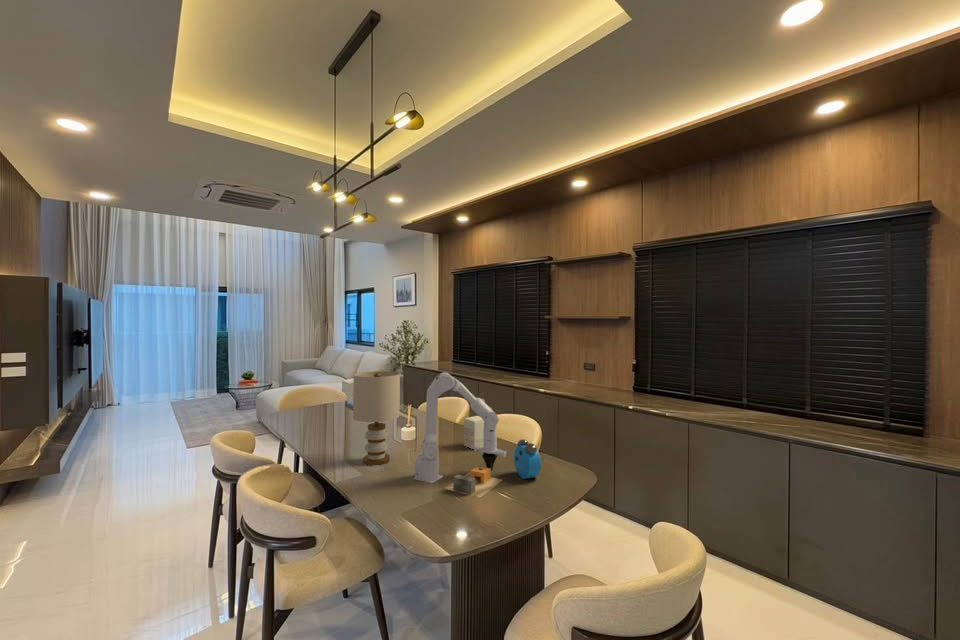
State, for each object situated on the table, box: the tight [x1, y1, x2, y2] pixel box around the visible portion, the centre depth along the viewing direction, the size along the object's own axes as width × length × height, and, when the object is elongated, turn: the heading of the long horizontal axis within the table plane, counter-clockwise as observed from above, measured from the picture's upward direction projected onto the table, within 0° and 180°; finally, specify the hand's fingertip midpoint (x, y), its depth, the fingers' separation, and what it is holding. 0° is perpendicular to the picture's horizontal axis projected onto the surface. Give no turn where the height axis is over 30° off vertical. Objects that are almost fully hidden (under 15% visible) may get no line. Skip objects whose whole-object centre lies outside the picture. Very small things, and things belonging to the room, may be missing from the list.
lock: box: [470, 465, 492, 483], centre depth 161 cm, size 6×6×5 cm
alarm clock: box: [513, 438, 542, 480], centre depth 164 cm, size 13×6×15 cm, turn 23°
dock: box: [443, 471, 503, 499], centre depth 156 cm, size 16×19×5 cm
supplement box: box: [463, 415, 485, 450], centre depth 204 cm, size 9×9×15 cm
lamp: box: [352, 370, 401, 466], centre depth 182 cm, size 21×21×41 cm
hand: (489, 470), depth 167 cm, fingers closed
